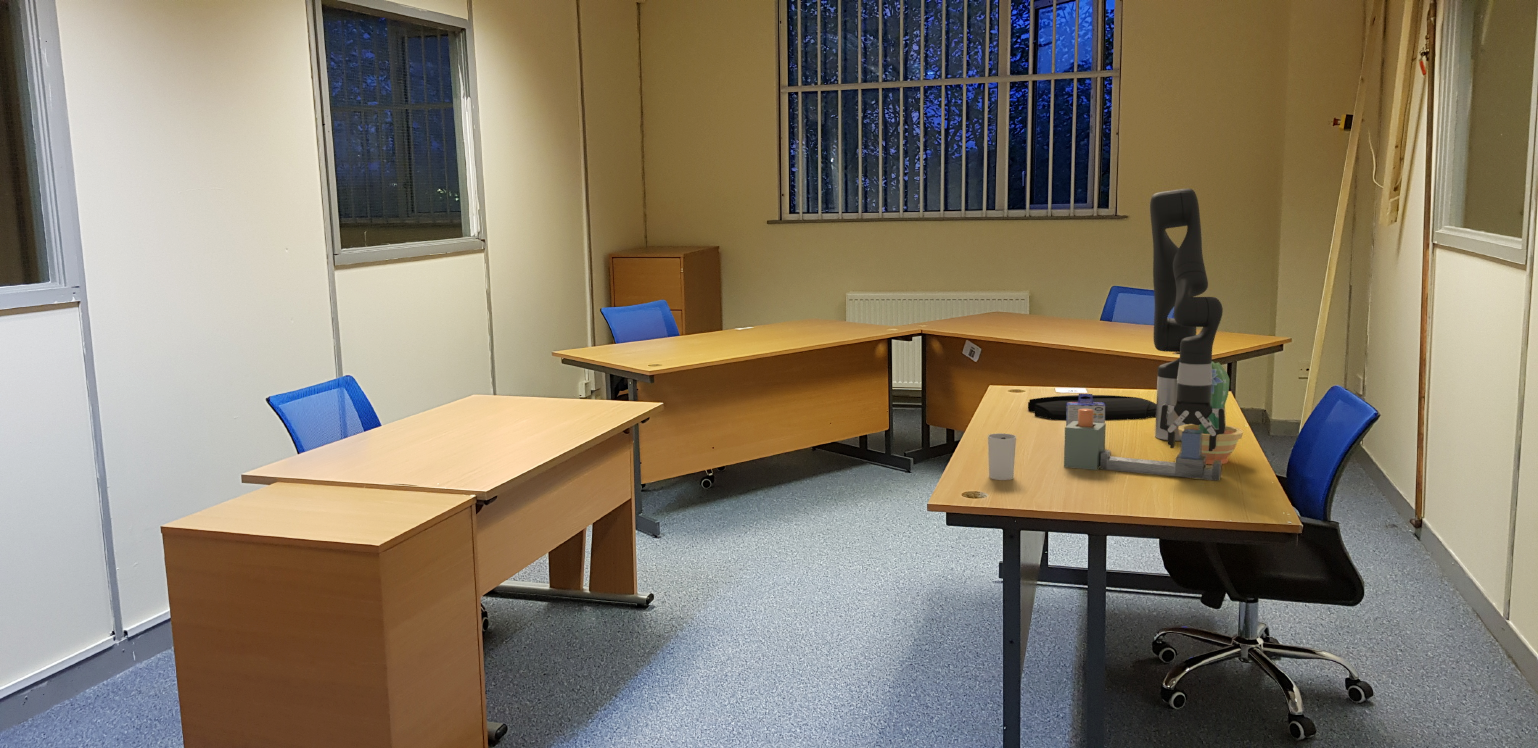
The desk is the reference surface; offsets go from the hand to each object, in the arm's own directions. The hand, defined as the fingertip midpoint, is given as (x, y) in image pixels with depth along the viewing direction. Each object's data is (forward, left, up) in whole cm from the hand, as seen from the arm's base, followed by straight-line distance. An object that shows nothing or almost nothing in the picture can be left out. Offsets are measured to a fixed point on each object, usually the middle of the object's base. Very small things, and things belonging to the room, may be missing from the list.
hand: (1191, 449), depth 251 cm
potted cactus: (-19, +2, -7) cm, 20 cm away
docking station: (-72, -37, -7) cm, 81 cm away
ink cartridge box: (-20, -29, -7) cm, 36 cm away
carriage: (0, 0, -7) cm, 7 cm away
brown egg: (-1, -25, +1) cm, 25 cm away
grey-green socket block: (-1, -25, -7) cm, 26 cm away
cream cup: (+20, -40, -7) cm, 45 cm away
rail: (0, -7, -7) cm, 10 cm away
